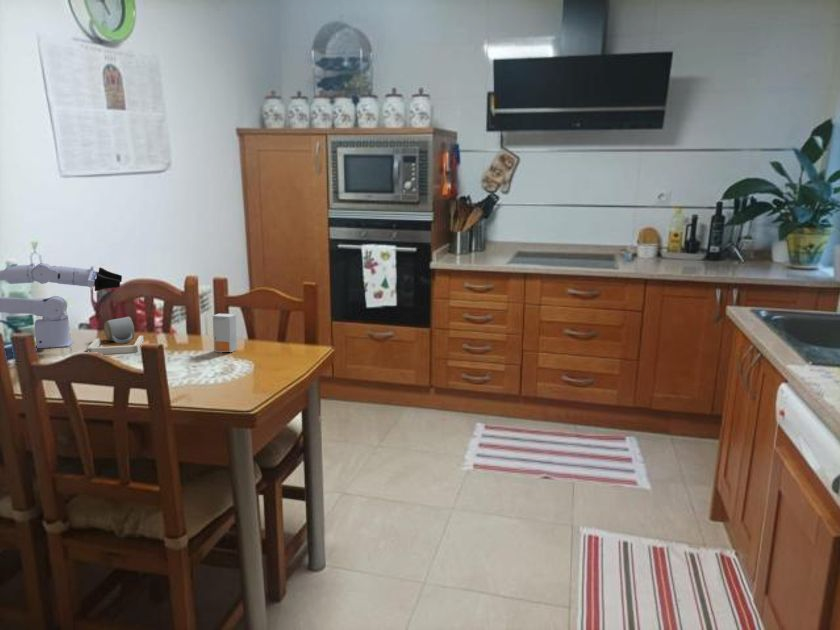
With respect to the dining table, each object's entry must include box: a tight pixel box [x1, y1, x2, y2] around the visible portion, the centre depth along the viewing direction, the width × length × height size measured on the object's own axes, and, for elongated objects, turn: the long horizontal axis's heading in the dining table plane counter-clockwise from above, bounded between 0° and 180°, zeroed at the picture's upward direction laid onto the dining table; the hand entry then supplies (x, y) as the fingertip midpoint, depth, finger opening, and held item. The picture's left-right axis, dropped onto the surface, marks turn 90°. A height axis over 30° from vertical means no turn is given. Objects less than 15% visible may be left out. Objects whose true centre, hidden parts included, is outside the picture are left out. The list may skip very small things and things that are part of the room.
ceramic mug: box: [103, 316, 135, 345], centre depth 214 cm, size 11×8×8 cm
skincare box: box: [212, 312, 238, 353], centre depth 201 cm, size 6×4×12 cm
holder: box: [86, 335, 145, 355], centre depth 205 cm, size 14×15×2 cm
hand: (120, 281), depth 211 cm, fingers open, 7 cm apart
